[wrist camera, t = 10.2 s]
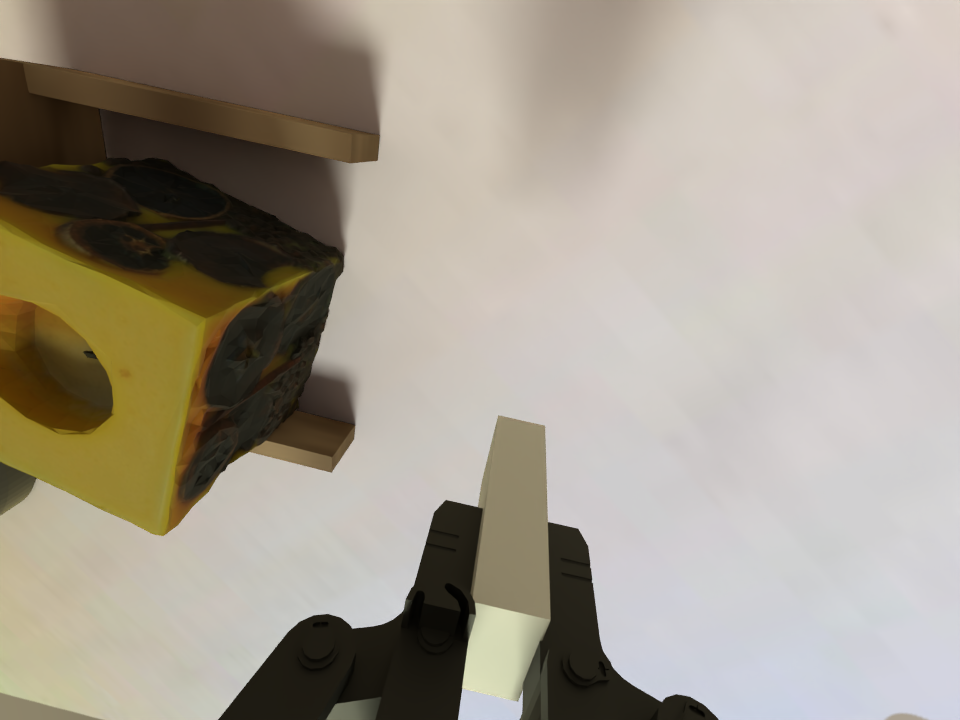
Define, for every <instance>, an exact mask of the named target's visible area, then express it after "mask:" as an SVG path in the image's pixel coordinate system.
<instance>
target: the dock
mask: <svg viewBox="0 0 960 720" xmlns="http://www.w3.org/2000/svg"><path fill="white" fill-rule="evenodd" d="M99 108H101V109H105V110H110V111H115V112H119V113H124V114H128V115H133V116H137V117H142V118H147V119H151V120H156V121H160V122H165V123H169V124H174V125H178V126H183V127H188V128H192V129H197V130H201V131H206V132H210V133H215V134H219V135H224V136H229V137H233V138H238V139H242V140H247V141H251V142H256V143H260V144H265V145H270V146H274V147H279V148H283V149H288V150H292V151H297V152H301V153H306V154H311V155H315V156H320V157H324V158H329V159H333V160H338V161H343V162H347V163H358V162H368V161H377V160H378V148H379V136H380V135H375V134H371V133H366V132H361V131H357V130H352V129H347V128H343V127H338V126H334V125H329V124H324V123H320V122H315V121H310V120H306V119H301V118H296V117H292V116H287V115H283V114H278V113H273V112H269V111H264V110H259V109H255V108H250V107H246V106H241V105H236V104H232V103H227V102H222V101H218V100H213V99H208V98H204V97H199V96H195V95H190V94H185V93H181V92H176V91H171V90H167V89H162V88H157V87H153V86H148V85H144V84H139V83H134V82H130V81H125V80H120V79H116V78H111V77H106V76H102V75H97V74H93V73H88V72H83V71H79V70H74V69H68V68H62V67H56V66H49V65H43V64H36V63H30V62H24V61H17V60H11V59H4V58H0V161H9V162H13V163H17V164H25V165H31V166H34V167H37V168H39V167H44V166H48V165H52V164H59V165H92V164H96V163H100V162H102V161H105V160H106V153H105V147H104V140H103V134H102V128H101V121H100V115H99ZM354 432H355V425H353V424H349V423H345V422H341V421H337V420H333V419H328V418H324V417H320V416H316V415H312V414H308V413H304V412H300V411H296V410H295V411H294V413H293V414H292V415H291V416H290V417H288V418H287V419H286V420H285V422H284V423H281V424H280V425H279V426H278V428H277V429H275V430H274V432H273V433H272V434H271V435H270V436H269V437H268V438H267V439H266V441H265V442H264V443H262V444H261V445H260V446H257V447H255V448H254V449H252V450H251V451H250V452H252V453H256V454H260V455H264V456H268V457H272V458H276V459H280V460H284V461H288V462H292V463H296V464H300V465H304V466H308V467H312V468H316V469H320V470H324V471H328V472H332V471H333V469H334V468H335V466H336V465H337V464H338V462H339V461H340V459H341V458H342V456H343V455H344V453H345V452H346V450H347V449H348V447H349V446H350V444H351V443H352V441H353V440H354Z"/></svg>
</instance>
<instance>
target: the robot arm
mask: <svg viewBox="0 0 960 720" xmlns="http://www.w3.org/2000/svg"><path fill="white" fill-rule="evenodd" d="M35 478H36V477H33V476H31V475H29V474H27V473H24V472H22V471H20V470H17V469H15V468H13V467H10V466H8V465H6V464H4V463H2V462H0V515H2V514H3V513H5V512H6V511H8V510H9V509H11V508H12V507H14V506H15V505H17V504H18V503H20V502H21V501H23V500H24V499H25V498H26V497H27V496H28V495H29V493H30V492H31V490H32V488H33V485H34V482H35ZM462 689H466V690H471V691H475V692H479V693H483V694H488V695H492V696H496V697H501V698H505V699H509V700H513V701H518V700H519V698H520V695H521V693H522V690H523V712H522V715H521V718H520V720H718V718H717V717H716V716H715V715H714V714H713V713H712V712H711V711H710V710H709V709H708V708H707V707H706V706H704V705H703V704H701V703H700V702H698V701H696V700H694V699H693V698H691V697H688V696H682V695H677V694H676V695H673V696H670V697H666V698H665V699H664V701H663V702H660V701H659V700H657V699H655V698H653V697H652V696H650V695H648V694H647V693H645V692H643V691H641V690H640V689H638V688H636V687H635V686H633V685H632V684H630V683H629V682H627V681H626V680H624V679H623V678H622V677H621V676H620V675H619V674H618V673H617V672H616V671H615V670H614V669H613V667H612V665H611V662H610V661H609V659H608V658H607V657H606V655H605V654H604V652H603V650H602V646H601V642H600V637H599V629H598V621H597V613H596V605H595V597H594V590H593V583H592V574H591V568H590V558H589V550H588V545H587V544H586V542H585V540H584V538H583V537H582V535H581V533H580V531H579V529H576V528H572V527H568V526H563V525H559V524H554V523H550V522H548V513H547V479H546V444H545V426H543V425H539V424H534V423H530V422H526V421H521V420H517V419H512V418H508V417H503V416H499V415H498V419H497V423H496V427H495V431H494V435H493V439H492V443H491V447H490V451H489V455H488V459H487V463H486V467H485V471H484V475H483V479H482V484H481V491H480V497H479V503H478V507H474V506H470V505H465V504H461V503H457V502H452V501H448V500H446V501H445V502H444V503H443V504H442V505H441V506H440V507H439V508H438V509H437V510H436V511H435V512H434V515H433V519H432V522H431V526H430V530H429V533H428V537H427V541H426V545H425V548H424V551H423V555H422V559H421V562H420V566H419V570H418V573H417V577H416V580H415V584H414V586H413V587H412V588H411V590H410V592H409V594H408V596H407V598H406V601H405V607H404V610H403V612H402V613H401V614H400V615H398V616H397V617H396V618H395V619H393V620H391V621H389V622H387V623H385V624H382V625H378V626H373V627H365V628H355V629H352V628H351V626H350V625H349V624H348V623H347V622H345V621H344V620H343V619H342V618H340V617H336V616H333V615H329V614H324V615H314V616H311V617H309V618H307V619H305V620H303V621H300V622H299V623H298V624H297V625H296V626H295V627H293V628H292V629H291V630H290V631H289V632H288V633H287V634H286V636H285V637H284V638H283V639H282V641H281V642H280V643H279V644H278V646H277V647H276V648H275V649H274V651H273V652H272V653H271V654H270V656H269V657H268V658H267V659H266V661H265V662H264V663H263V664H262V666H261V667H260V668H259V669H258V671H257V672H256V673H255V674H254V676H253V677H252V678H251V679H250V681H249V682H248V683H247V684H246V686H245V687H244V688H243V689H242V691H241V692H240V693H239V694H238V696H237V697H236V698H235V699H234V701H233V702H232V703H231V704H230V706H229V707H228V708H227V709H226V711H225V712H224V713H223V714H222V716H221V717H220V718H219V719H218V720H458V715H459V708H460V700H461V693H462Z"/></svg>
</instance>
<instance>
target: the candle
mask: <svg viewBox="0 0 960 720" xmlns="http://www.w3.org/2000/svg"><path fill="white" fill-rule="evenodd" d="M342 272H343V255H342V254H341V253H340V252H339V251H338V250H337V248H336V247H329V246H325V245H324V244H322V243H321V242H319V241H317V240H315V239H314V238H313V237H311V236H310V235H309V234H306V233H302V232H298V231H296V230H295V229H294V228H292V227H290V226H288V225H286V224H284V223H282V222H280V221H278V219H277V218H276V216H274V215H270V214H268V213H266V212H264V211H261V210H259V209H257V208H255V207H253V206H250V205H248V204H246V203H244V202H242V201H240V200H238V199H236V198H234V197H232V196H230V195H228V194H225V193H223V192H222V191H220V190H219V189H218V188H217V187H216V186H214V185H213V184H208V183H204V182H200V181H199V180H197V179H196V178H194V177H193V176H191V175H190V174H188V173H186V172H184V171H181V170H179V169H178V168H176V167H175V166H174V165H173V164H171V163H170V162H169V161H166V160H161V159H157V158H148V159H144V160H136V161H130V160H128V159H126V158H107V159H106V160H105V161H102V162H100V163H96V164H92V165H59V164H52V165H48V166H44V167H39V168H37V167H34V166H31V165H25V164H17V163H13V162H9V161H0V462H2V463H4V464H6V465H8V466H10V467H13V468H15V469H17V470H20V471H22V472H24V473H27V474H29V475H31V476H33V477H36V478H38V479H40V480H42V481H44V482H46V483H49V484H51V485H53V486H55V487H57V488H59V489H62V490H64V491H66V492H68V493H70V494H72V495H74V496H76V497H78V498H80V499H82V500H84V501H86V502H88V503H90V504H92V505H93V506H95V507H97V508H99V509H101V510H103V511H106V512H108V513H110V514H113V515H115V516H117V517H119V518H122V519H124V520H126V521H129V522H131V523H133V524H135V525H137V526H138V527H140V528H142V529H144V530H146V531H148V532H150V533H152V534H155V535H161V536H164V535H165V534H167V533H168V532H169V531H171V530H172V529H173V528H175V527H176V526H177V525H178V524H179V523H180V522H181V521H182V519H183V518H184V517H185V516H186V514H187V513H188V512H189V511H190V509H191V508H192V507H193V506H194V505H195V504H196V503H197V502H198V501H199V500H200V499H201V498H202V497H203V496H205V495H206V494H207V493H208V492H209V490H210V488H211V487H212V485H213V483H214V482H215V480H216V478H217V477H218V476H219V474H220V473H221V472H223V471H225V469H226V467H227V466H228V465H229V464H230V463H232V462H234V461H235V460H237V459H238V458H240V457H241V456H243V455H245V454H246V453H248V452H250V451H251V450H252V449H254V448H255V447H257V446H260V445H261V444H262V443H264V442H265V441H266V439H267V438H268V437H269V436H270V435H271V434H272V433H273V432H274V430H275V429H277V428H278V426H279V425H280V424H281V423H284V422H285V420H286V419H287V418H288V417H290V416H291V415H292V414H293V413H294V411H295V410H297V409H298V408H299V404H298V398H299V397H300V396H301V394H302V393H303V391H304V383H305V382H306V380H307V379H308V378H309V376H310V373H311V366H312V363H313V360H314V358H315V355H316V353H317V351H318V347H319V342H320V334H321V333H322V332H323V331H324V324H325V321H326V319H327V317H328V308H329V305H330V301H331V298H332V293H333V288H334V285H335V282H336V279H337V278H338V277H339V276H340V275H341V273H342Z"/></svg>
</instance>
